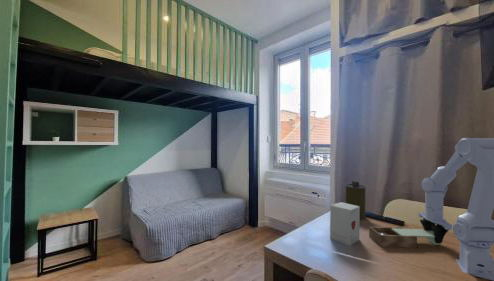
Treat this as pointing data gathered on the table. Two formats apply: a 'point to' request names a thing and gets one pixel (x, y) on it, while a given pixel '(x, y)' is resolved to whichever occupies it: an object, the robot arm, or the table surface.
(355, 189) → the canister
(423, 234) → the lid
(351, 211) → the supplement box
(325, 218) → the table surface
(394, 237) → the tub
